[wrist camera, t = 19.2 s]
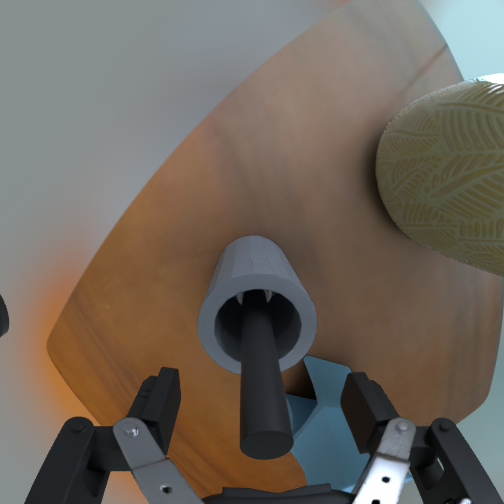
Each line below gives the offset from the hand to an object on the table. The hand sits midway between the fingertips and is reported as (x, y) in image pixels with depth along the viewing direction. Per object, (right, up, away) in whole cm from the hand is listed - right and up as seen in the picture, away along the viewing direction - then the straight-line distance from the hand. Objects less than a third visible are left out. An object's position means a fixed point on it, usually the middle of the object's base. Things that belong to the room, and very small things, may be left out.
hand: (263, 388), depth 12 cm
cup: (0, +4, +19) cm, 20 cm away
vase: (+20, +16, +18) cm, 31 cm away
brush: (0, +4, +19) cm, 19 cm away
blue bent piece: (+9, -12, +23) cm, 28 cm away
